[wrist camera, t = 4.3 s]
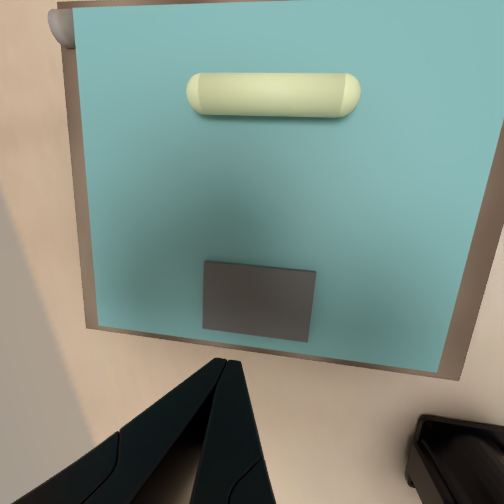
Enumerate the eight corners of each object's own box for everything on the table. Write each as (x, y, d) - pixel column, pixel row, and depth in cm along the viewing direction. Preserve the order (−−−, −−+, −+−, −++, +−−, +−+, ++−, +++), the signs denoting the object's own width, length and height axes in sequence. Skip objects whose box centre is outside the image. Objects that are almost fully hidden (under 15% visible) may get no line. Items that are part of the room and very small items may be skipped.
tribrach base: (509, 30, 13) (603, -42, 9) (430, 351, 18) (472, 395, 14) (97, 37, 16) (37, -16, 12) (114, 310, 21) (73, 336, 17)
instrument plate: (503, 19, 11) (586, -49, 8) (422, 355, 15) (457, 395, 12) (95, 28, 13) (39, -22, 10) (114, 314, 17) (77, 339, 14)
